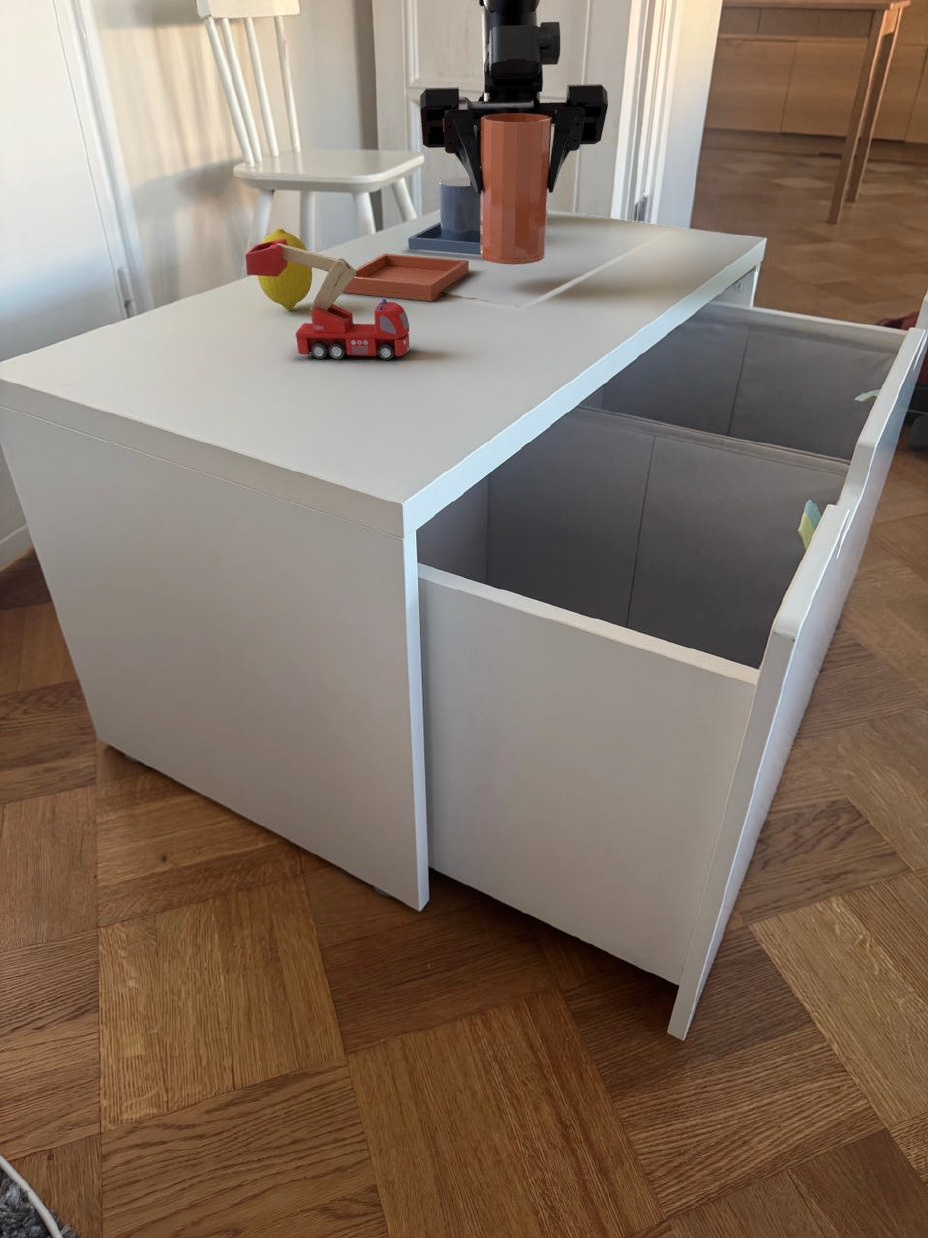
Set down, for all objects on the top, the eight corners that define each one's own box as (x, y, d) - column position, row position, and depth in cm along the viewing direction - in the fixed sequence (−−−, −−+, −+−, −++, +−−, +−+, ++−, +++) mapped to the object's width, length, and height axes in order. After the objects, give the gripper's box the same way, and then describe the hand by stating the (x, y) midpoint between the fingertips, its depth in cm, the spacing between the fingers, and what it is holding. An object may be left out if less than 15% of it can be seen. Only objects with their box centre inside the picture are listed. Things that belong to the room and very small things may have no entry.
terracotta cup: (502, 244, 101) (505, 110, 93) (556, 253, 98) (563, 115, 90) (468, 258, 96) (468, 118, 89) (523, 267, 93) (528, 124, 86)
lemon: (326, 305, 96) (317, 224, 92) (297, 320, 92) (286, 236, 88) (282, 299, 98) (271, 220, 94) (251, 314, 94) (239, 232, 90)
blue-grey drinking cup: (458, 233, 120) (456, 175, 116) (497, 239, 117) (497, 179, 113) (431, 243, 116) (429, 183, 112) (471, 249, 113) (471, 187, 109)
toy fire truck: (407, 361, 82) (401, 247, 76) (258, 358, 83) (242, 247, 78) (413, 348, 85) (407, 238, 79) (268, 346, 86) (253, 237, 80)
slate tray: (443, 233, 122) (443, 219, 121) (518, 239, 119) (518, 225, 118) (408, 252, 114) (408, 237, 113) (488, 259, 111) (488, 244, 110)
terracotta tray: (385, 268, 108) (384, 253, 107) (468, 275, 105) (468, 260, 104) (342, 292, 100) (340, 276, 99) (431, 301, 97) (431, 284, 96)
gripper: (416, -10, 87) (418, 138, 84) (612, -15, 87) (620, 133, 84) (422, 78, 98) (423, 211, 95) (596, 74, 98) (603, 207, 95)
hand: (515, 190), depth 92 cm, fingers closed on terracotta cup, 7 cm apart
